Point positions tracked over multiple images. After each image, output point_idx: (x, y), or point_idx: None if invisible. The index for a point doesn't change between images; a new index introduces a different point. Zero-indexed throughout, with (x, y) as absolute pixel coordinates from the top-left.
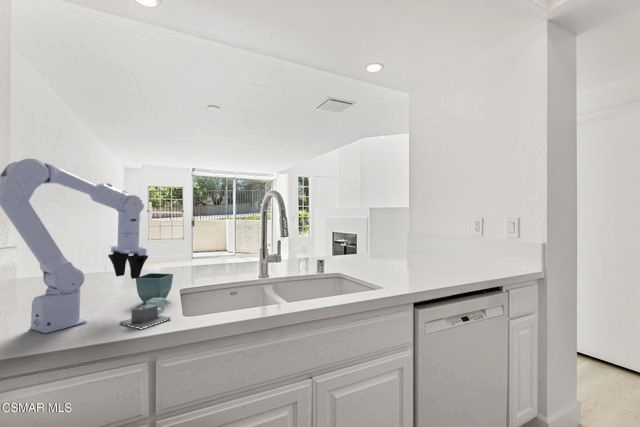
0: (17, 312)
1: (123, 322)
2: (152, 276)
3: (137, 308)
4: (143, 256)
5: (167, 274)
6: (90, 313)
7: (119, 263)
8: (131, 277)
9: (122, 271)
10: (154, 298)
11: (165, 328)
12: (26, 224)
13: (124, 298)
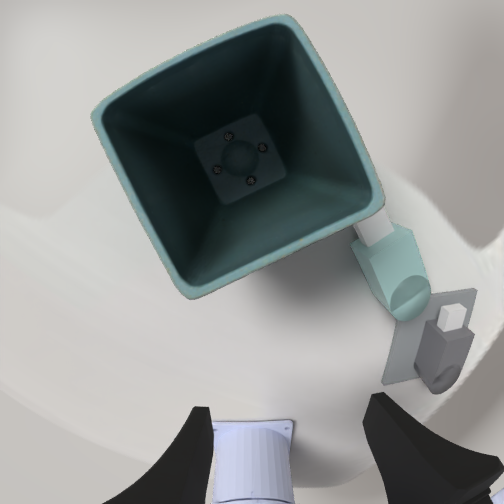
0: (62, 419)
1: (396, 381)
2: (126, 106)
3: (441, 381)
4: (484, 487)
5: (245, 36)
6: (198, 382)
7: (199, 499)
8: (366, 428)
9: (207, 436)
10: (387, 267)
11: (486, 328)
12: None
13: (76, 209)
